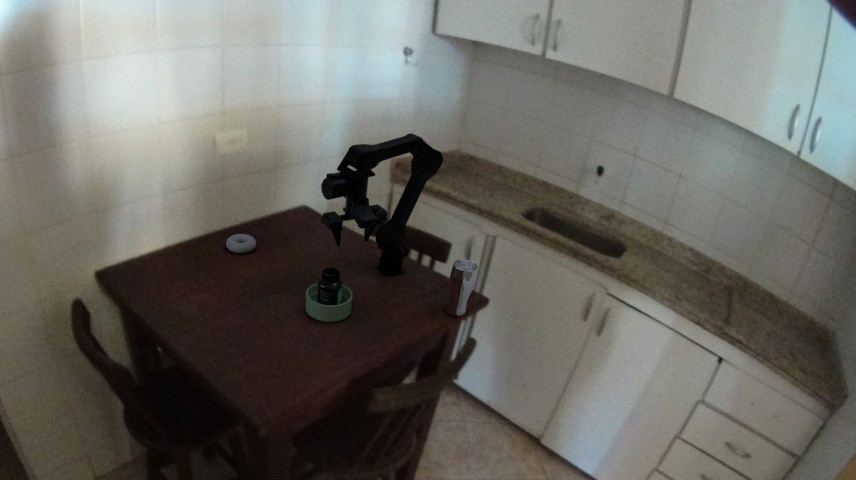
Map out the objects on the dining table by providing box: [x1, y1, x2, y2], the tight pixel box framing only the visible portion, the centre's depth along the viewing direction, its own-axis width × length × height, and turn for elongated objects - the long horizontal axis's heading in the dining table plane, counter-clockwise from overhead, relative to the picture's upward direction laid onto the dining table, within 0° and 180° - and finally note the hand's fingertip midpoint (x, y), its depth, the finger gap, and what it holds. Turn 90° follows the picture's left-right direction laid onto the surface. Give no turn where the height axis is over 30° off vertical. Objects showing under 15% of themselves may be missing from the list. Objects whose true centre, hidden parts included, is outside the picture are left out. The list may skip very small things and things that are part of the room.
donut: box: [225, 233, 257, 254], centre depth 202 cm, size 10×4×10 cm
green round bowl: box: [304, 282, 354, 323], centre depth 173 cm, size 13×13×6 cm
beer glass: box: [444, 259, 479, 318], centre depth 171 cm, size 7×7×15 cm
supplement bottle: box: [317, 266, 344, 305], centre depth 170 cm, size 7×7×12 cm
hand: (352, 243), depth 180 cm, fingers open, 9 cm apart
